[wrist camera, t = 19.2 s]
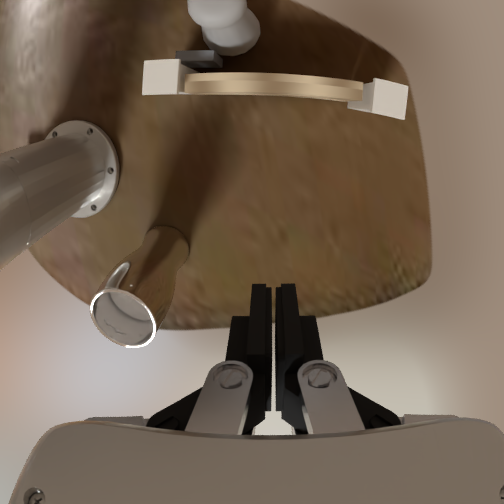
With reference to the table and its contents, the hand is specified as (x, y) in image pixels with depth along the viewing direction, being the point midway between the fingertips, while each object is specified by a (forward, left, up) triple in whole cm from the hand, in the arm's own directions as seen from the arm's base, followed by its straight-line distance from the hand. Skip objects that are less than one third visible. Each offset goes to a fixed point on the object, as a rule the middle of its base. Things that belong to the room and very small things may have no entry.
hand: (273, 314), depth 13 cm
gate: (-1, +10, -24) cm, 26 cm away
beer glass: (-12, -10, -25) cm, 30 cm away
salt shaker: (-5, +16, -25) cm, 30 cm away
